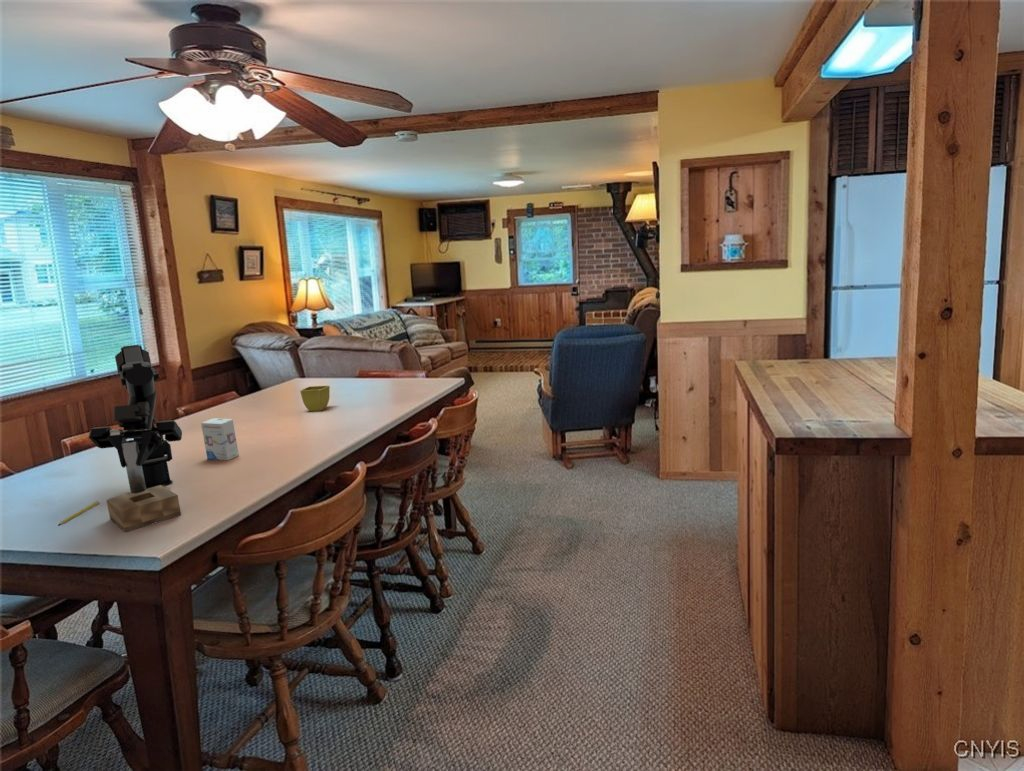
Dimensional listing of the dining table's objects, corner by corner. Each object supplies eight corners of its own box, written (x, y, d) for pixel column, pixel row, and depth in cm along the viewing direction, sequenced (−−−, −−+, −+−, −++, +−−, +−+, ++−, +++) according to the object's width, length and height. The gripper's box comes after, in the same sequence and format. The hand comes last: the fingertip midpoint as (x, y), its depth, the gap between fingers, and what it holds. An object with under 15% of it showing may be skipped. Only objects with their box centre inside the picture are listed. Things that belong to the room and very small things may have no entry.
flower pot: (312, 407, 265) (309, 385, 263) (332, 406, 264) (329, 385, 262) (302, 412, 256) (299, 390, 255) (323, 412, 255) (320, 389, 253)
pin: (143, 487, 156) (134, 439, 153) (148, 490, 153) (138, 441, 151) (129, 491, 153) (119, 442, 151) (132, 494, 151) (123, 444, 149)
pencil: (56, 527, 153) (55, 523, 153) (96, 504, 167) (95, 501, 167) (60, 527, 153) (59, 523, 153) (100, 504, 167) (99, 500, 166)
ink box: (205, 459, 200) (199, 422, 198) (218, 454, 205) (212, 418, 203) (227, 460, 197) (221, 422, 195) (239, 455, 202) (234, 418, 200)
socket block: (164, 503, 163) (160, 484, 162) (181, 514, 155) (177, 494, 154) (110, 519, 155) (106, 499, 154) (125, 532, 146) (121, 511, 145)
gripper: (84, 394, 151) (70, 454, 143) (169, 387, 154) (161, 444, 145) (105, 419, 160) (93, 476, 152) (185, 411, 163) (178, 467, 155)
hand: (131, 465), depth 151 cm, fingers closed on pin, 3 cm apart
